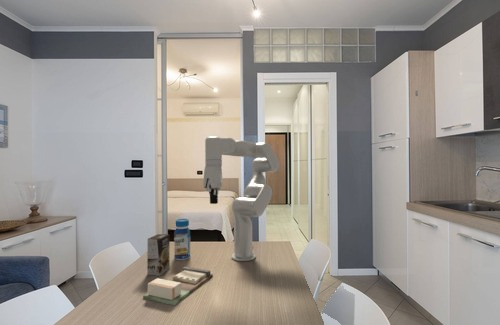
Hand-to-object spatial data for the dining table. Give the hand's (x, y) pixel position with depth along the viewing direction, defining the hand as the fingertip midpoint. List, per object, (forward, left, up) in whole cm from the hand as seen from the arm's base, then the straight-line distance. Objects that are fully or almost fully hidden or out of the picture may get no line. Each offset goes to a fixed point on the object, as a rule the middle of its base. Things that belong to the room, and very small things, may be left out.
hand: (213, 203), depth 121 cm
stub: (+28, -5, -30) cm, 41 cm away
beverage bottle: (-10, -25, -31) cm, 41 cm away
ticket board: (+18, -5, -31) cm, 36 cm away
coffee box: (+9, -24, -31) cm, 40 cm away
